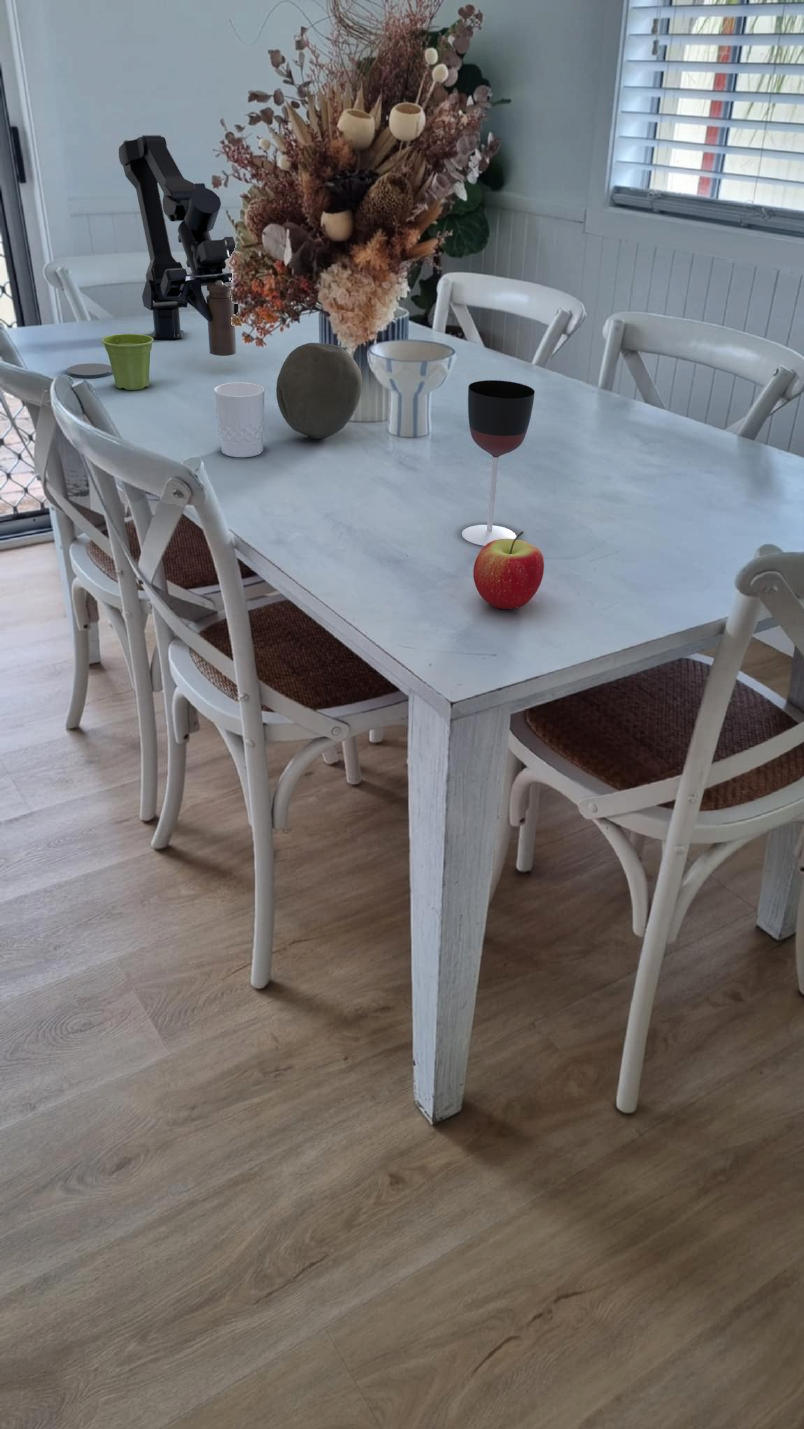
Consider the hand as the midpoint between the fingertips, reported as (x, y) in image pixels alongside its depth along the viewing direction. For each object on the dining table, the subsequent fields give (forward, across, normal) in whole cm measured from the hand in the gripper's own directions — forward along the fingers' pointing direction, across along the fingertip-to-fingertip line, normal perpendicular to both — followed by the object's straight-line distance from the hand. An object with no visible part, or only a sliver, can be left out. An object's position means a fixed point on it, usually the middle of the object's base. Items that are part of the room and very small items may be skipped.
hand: (223, 319), depth 205 cm
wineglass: (+71, +2, -57) cm, 91 cm away
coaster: (-1, -24, +16) cm, 29 cm away
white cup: (+39, -15, -24) cm, 48 cm away
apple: (+84, -9, -70) cm, 110 cm away
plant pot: (+8, -20, +7) cm, 22 cm away
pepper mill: (+4, 0, +6) cm, 7 cm away
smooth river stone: (+37, 0, -22) cm, 43 cm away
